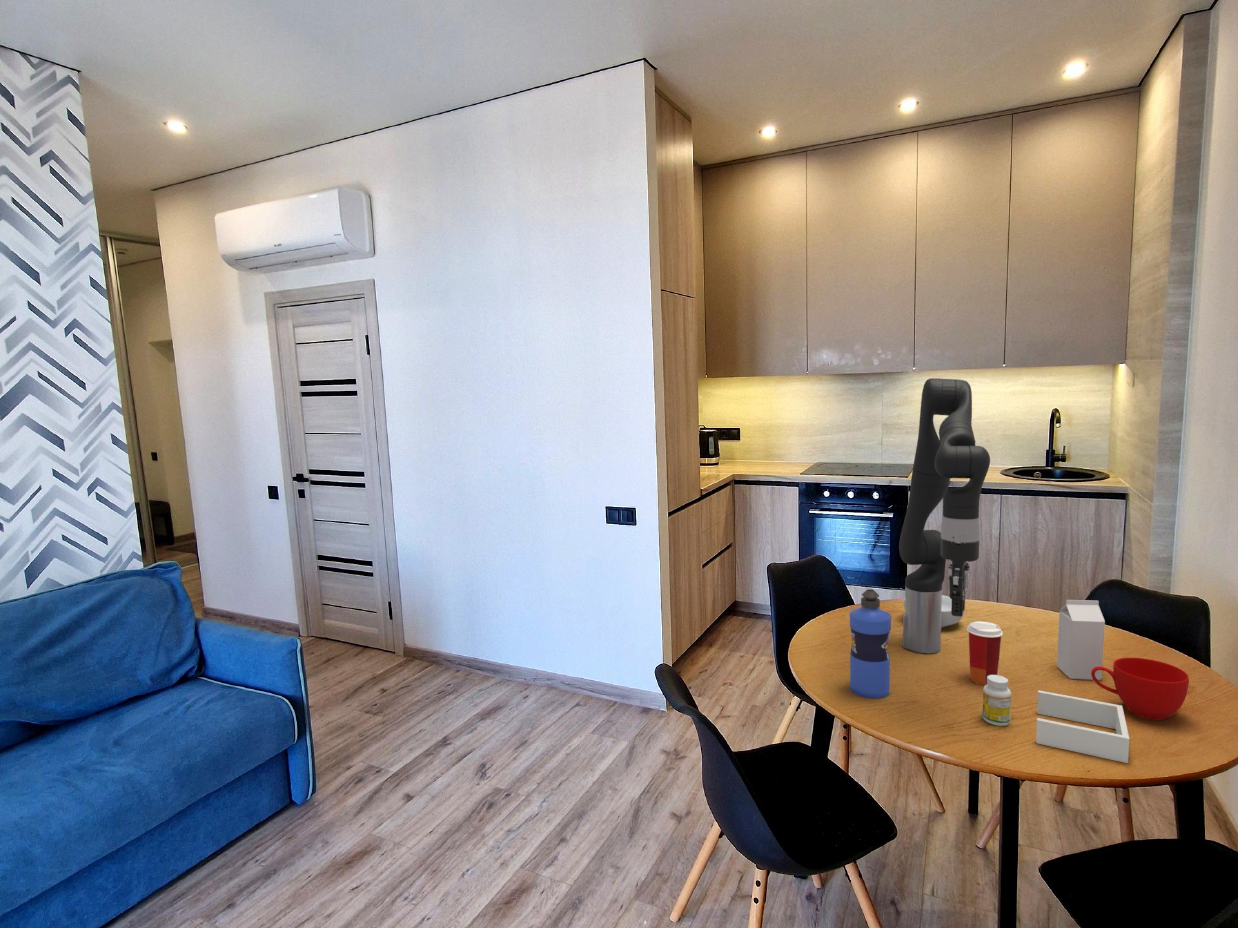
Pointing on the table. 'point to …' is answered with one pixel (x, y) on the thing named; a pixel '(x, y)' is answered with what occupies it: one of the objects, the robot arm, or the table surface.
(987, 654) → the paper cup
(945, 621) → the cereal bowl
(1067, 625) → the milk carton
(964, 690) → the table surface
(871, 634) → the water bottle
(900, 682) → the table surface
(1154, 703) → the ceramic cup
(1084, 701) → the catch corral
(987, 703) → the supplement bottle
